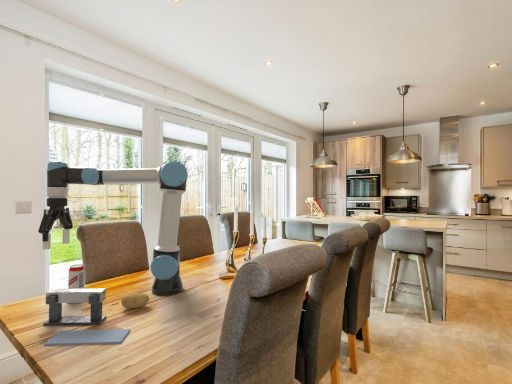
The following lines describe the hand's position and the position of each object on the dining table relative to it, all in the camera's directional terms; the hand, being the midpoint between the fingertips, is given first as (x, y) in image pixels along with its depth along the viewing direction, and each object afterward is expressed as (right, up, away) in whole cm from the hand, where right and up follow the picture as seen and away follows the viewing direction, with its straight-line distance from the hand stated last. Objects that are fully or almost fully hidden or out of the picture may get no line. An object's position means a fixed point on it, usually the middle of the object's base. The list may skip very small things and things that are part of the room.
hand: (56, 246), depth 127 cm
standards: (+18, -26, -15) cm, 35 cm away
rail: (+18, -18, -15) cm, 29 cm away
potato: (+34, -27, -1) cm, 44 cm away
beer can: (+5, -26, +6) cm, 27 cm away
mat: (+30, -26, -27) cm, 48 cm away
